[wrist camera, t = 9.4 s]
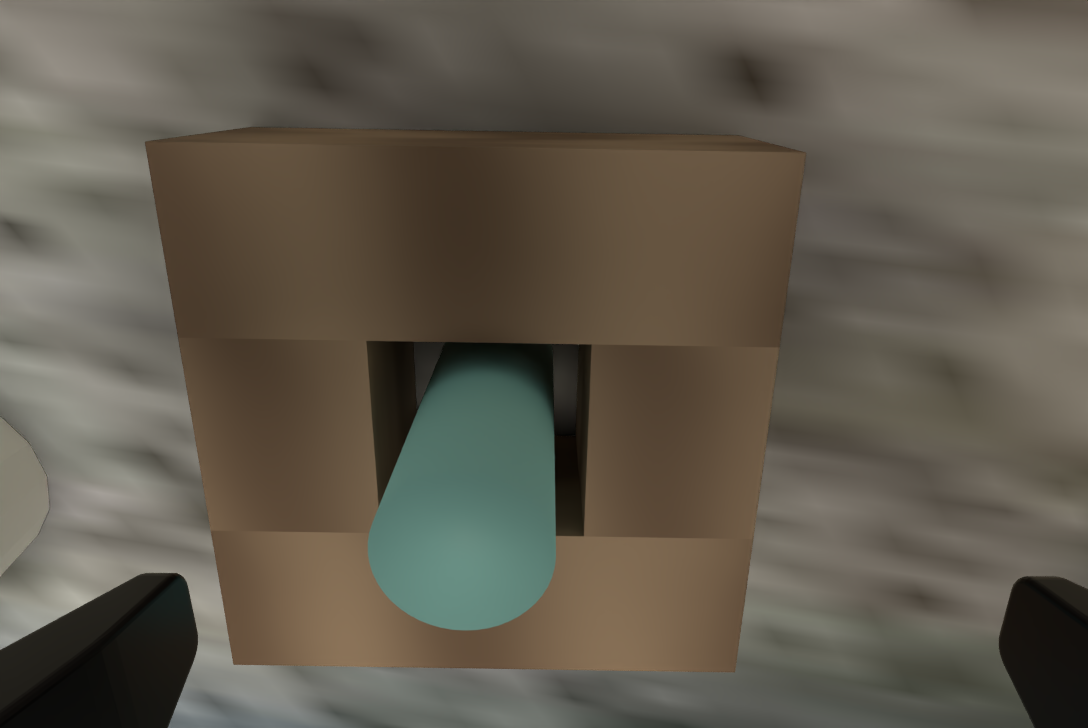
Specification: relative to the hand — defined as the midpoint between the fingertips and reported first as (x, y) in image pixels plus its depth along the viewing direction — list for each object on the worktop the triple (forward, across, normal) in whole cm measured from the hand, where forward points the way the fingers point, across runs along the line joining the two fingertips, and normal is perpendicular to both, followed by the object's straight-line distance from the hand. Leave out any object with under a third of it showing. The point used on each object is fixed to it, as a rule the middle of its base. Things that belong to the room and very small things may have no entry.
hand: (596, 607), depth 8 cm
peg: (+12, +2, +2) cm, 13 cm away
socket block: (+12, +2, +2) cm, 13 cm away
